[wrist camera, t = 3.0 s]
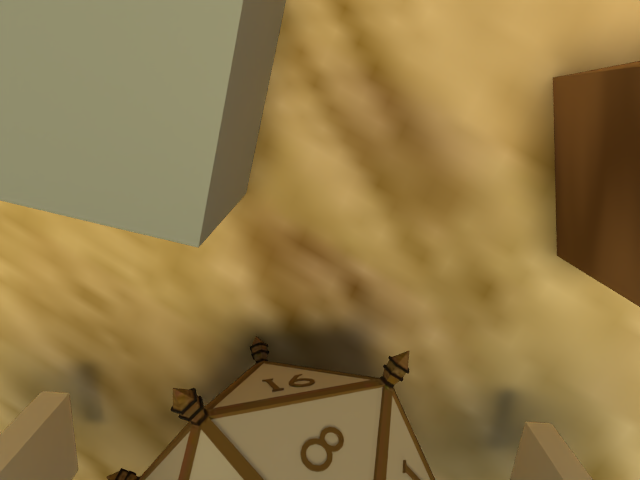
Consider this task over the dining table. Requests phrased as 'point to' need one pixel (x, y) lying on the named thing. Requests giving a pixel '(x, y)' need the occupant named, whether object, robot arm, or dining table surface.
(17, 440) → the robot arm
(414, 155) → the dining table surface
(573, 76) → the walnut block
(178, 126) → the slate-blue block
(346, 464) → the game die
